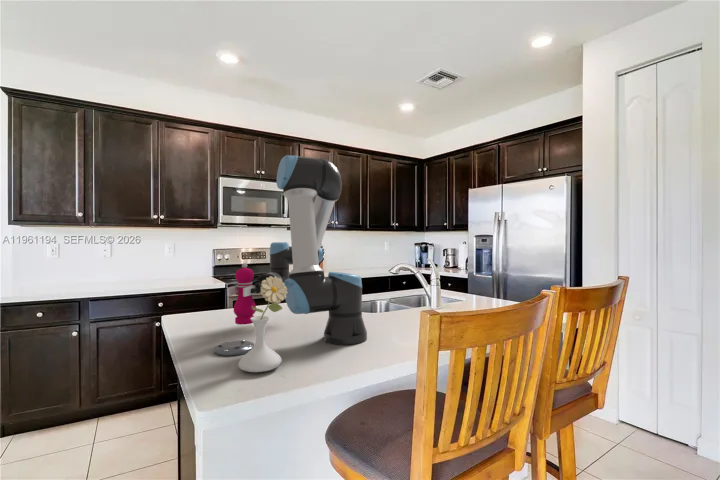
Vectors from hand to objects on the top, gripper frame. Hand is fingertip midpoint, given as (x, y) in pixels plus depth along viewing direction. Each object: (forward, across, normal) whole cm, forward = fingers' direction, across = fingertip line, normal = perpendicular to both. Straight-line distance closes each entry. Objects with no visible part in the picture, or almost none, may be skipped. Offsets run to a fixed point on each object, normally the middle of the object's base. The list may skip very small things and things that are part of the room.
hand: (236, 292), depth 114 cm
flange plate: (+2, 0, -18) cm, 18 cm away
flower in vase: (+15, -17, -18) cm, 29 cm away
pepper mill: (-5, 0, -11) cm, 12 cm away
